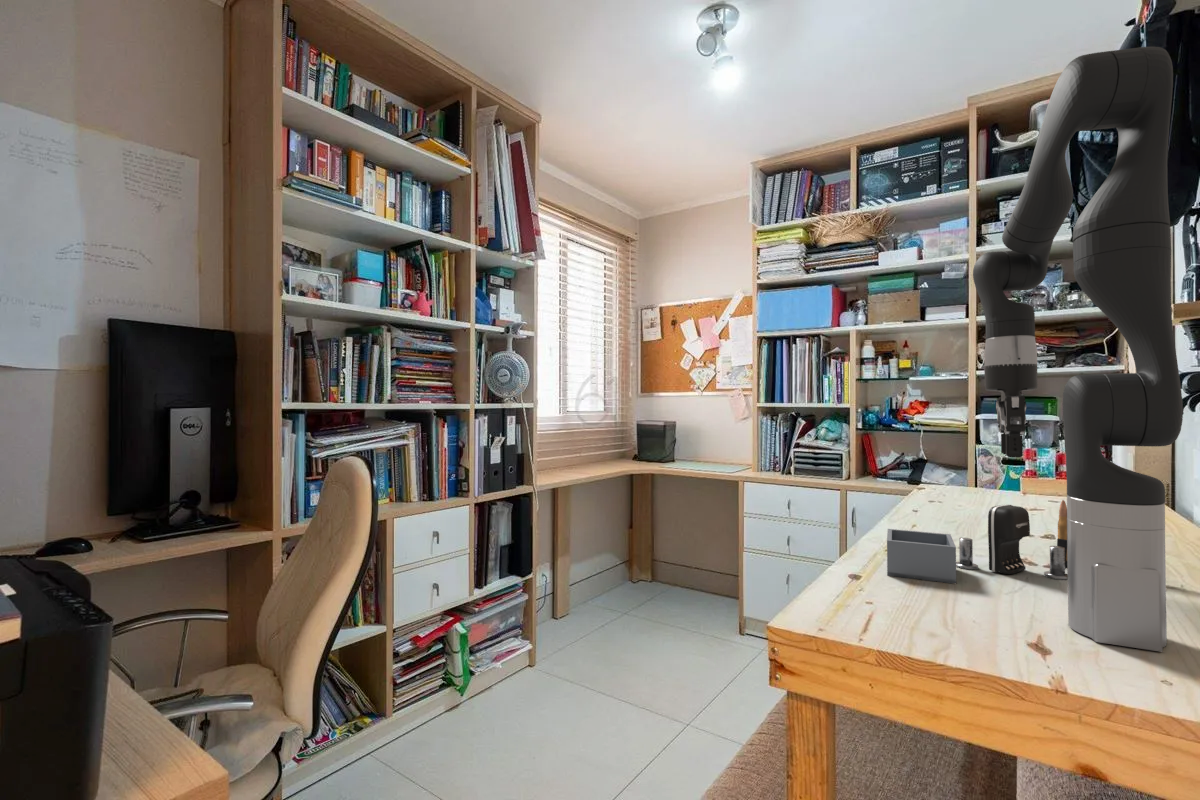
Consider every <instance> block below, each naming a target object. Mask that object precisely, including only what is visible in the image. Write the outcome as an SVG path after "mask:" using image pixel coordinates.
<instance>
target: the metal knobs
mask: <svg viewBox="0 0 1200 800" xmlns="http://www.w3.org/2000/svg"><path fill="white" fill-rule="evenodd" d="M958 541H959V545H958V546H959V547H958V552H959V555H958V556H959V561H956V566H957V567H956V568H958V567H960V568H959V569H962V568H965V569H964V570H969V569H976V570H978V569H979V565H978V564H976V563H974V561H973V560H974V557H973V556H974V555H973V554H974V553H973V549H974V548H973V547H974V546H973V543H974V542H973V539H972V538H969V537H959V539H958ZM1044 575H1045V577H1046V576H1047V578H1049V579H1054V580H1060V581H1068V573H1066V568H1065V548H1064V547H1060V546H1057V545H1050V546H1049V571H1048V570H1047V571H1044V572H1043V576H1044Z"/></svg>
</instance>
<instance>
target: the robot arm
mask: <svg viewBox="0 0 1200 800" xmlns="http://www.w3.org/2000/svg"><path fill="white" fill-rule="evenodd" d="M1173 88H1174V67H1173V62H1172V59H1171V56H1170V53H1169V52H1168V51H1167V50H1166V49H1165V48H1162V47H1160V46H1140V47H1134V48H1132V47H1131V48H1125V49H1116V50H1108V51H1107V50H1105V51H1098V52H1093V53H1088V54H1082V55H1079V56H1077V57H1075V58H1074V59H1072V60H1071V61H1070V62H1069V63H1068V64H1067V65H1066V66H1065V68H1064V69H1063V71H1061V73H1060V75H1059V77H1058V79H1057V81H1056V83H1055V85H1054V87H1053V90H1052V93H1050V94H1051V95H1050V97H1049V101H1048V102H1047V107H1046V110H1045V113H1044V116H1043V120H1042V124H1041V127H1040V129H1039V132H1038V137H1037V141H1036V144H1035V147H1034V150H1033V154H1032V157H1031V161H1030V165H1029V169H1028V172H1027V176H1026V179H1025V182H1024V186H1023V188H1022V190H1021V193H1020V196H1019V197H1018V201H1017V202H1016V204H1015V206H1014V208H1013V210H1012V212H1011V214H1010V216H1009V219H1008V221H1007V223H1006V225H1005V227H1004V230H1003V232H1002V237H1001V238H1002V239H1001V240H1002V243H1003V245H1004V246H1005V247H1006V248H1007V249H1009V250H1003V251H1002V250H999V251H989V252H986V253H983V254H982V255H980V256H979V257H978V259H977V260H976V261H975V263H974V266H973V271H972V278H973V279H972V280H973V284H974V287H975V289H976V291H977V295H978V297H979V300H980V302H981V306H982V311H983V313H984V317H985V320H984V321H985V344H984V353H983V354H984V356H983V357H984V358H983V359H984V363H983V364H984V365H983V366H984V389H985V391H987V392H999V393H1001V395H1000V397H998V400H997V401H996V405H995V408H996V412H997V413H996V414H997V416H996V420H997V427H998V431H999V434H1000V448H1001V449H1000V452H1001V454H1003V455H1006V457H1008V458H1022V457H1023V455H1024V453H1023V452H1024V451H1023V449H1024V446H1023V444H1024V443H1023V436H1024V433H1025V432H1026V429H1027V426H1026V421H1027V416H1026V412H1027V411H1026V410H1027V401H1026V397H1025V395H1022V394H1021V392H1023V391H1025V392H1026V391H1027V392H1029V391H1035V390H1037V389H1038V387H1039V386H1038V385H1039V384H1038V349H1037V343H1036V322H1035V321H1036V320H1035V319H1036V318H1035V317H1036V316H1035V315H1036V314H1035V309H1034V307H1033V306H1032V305H1030V304H1029V303H1025V302H1018V301H1013V300H1011V299H1009V298H1008V297H1007V295H1006V294H1005V293H1004V292H1021V291H1030V290H1032V289H1034V288H1037V287H1038V286H1040V285H1041V284H1042V282H1043V281H1044V280H1045V279H1046V276H1047V274H1048V268H1049V267H1048V266H1049V260H1050V259H1049V258H1050V254H1051V250H1052V246H1053V241H1054V240H1055V238H1056V236H1057V234H1058V232H1059V231H1060V229H1061V227H1062V225H1063V224H1064V222H1065V221H1066V218H1067V216H1068V215H1069V213H1070V210H1071V208H1072V204H1073V198H1074V188H1073V185H1072V180H1071V177H1070V175H1069V171H1068V167H1067V160H1066V152H1067V149H1068V146H1069V144H1070V142H1071V140H1072V138H1073V137H1074V135H1075V133H1077V132H1080V131H1081V132H1083V131H1094V130H1103V129H1104V130H1107V129H1116V131H1117V135H1118V136H1117V137H1118V147H1117V153H1116V157H1115V162H1114V164H1113V165H1112V168H1111V170H1110V171H1109V174H1108V175H1107V177H1106V178H1105V179H1104V181H1103V183H1102V184H1101V185H1100V187H1099V188H1098V189H1097V191H1096V192H1095V193H1094V195H1093V196H1092V197H1091V199H1090V200H1089V201H1088V203H1087V204H1086V206H1085V207H1084V209H1083V210H1082V211H1081V212H1080V215H1079V216H1078V218H1077V220H1076V222H1075V225H1074V227H1073V229H1072V230H1073V231H1072V254H1073V255H1072V257H1073V258H1072V259H1073V260H1072V261H1073V276H1074V279H1075V281H1076V283H1077V285H1078V286H1079V288H1080V289H1081V290H1082V292H1083V293H1084V294H1085V295H1086V297H1088V298H1089V300H1090V301H1091V302H1092V303H1093V304H1094V305H1095V307H1097V308H1098V309H1099V310H1100V311H1101V312H1102V313H1103V314H1104V315H1105V316H1106V317H1107V318H1108V320H1110V322H1111V323H1112V324H1113V325H1114V326H1115V327H1116V328H1117V330H1118V331H1119V332H1120V334H1121V335H1122V337H1123V339H1124V340H1125V341H1126V343H1127V346H1128V347H1129V350H1130V353H1131V355H1132V358H1133V361H1134V365H1135V371H1136V372H1130V373H1129V372H1126V373H1124V372H1123V373H1122V372H1121V373H1119V372H1118V373H1091V374H1078V375H1073V376H1072V377H1070V378H1069V379H1068V380H1067V381H1066V384H1065V386H1064V388H1063V392H1062V401H1061V402H1062V405H1061V406H1062V421H1063V431H1064V432H1063V433H1064V442H1065V444H1064V446H1065V466H1066V467H1065V468H1066V469H1065V470H1066V506H1067V570H1066V571H1067V572H1066V574H1068V580H1067V610H1068V611H1067V612H1068V613H1067V616H1068V620H1067V622H1068V624H1067V625H1068V626H1069V628H1071V629H1072V630H1073V631H1075V632H1077V633H1079V634H1081V635H1083V636H1086V637H1089V638H1090V639H1092V640H1093V641H1094V642H1096V643H1101V644H1108V645H1115V646H1120V647H1121V646H1122V647H1127V648H1136V649H1139V650H1140V649H1142V650H1147V651H1154V652H1163V649H1164V647H1166V646H1167V644H1168V643H1167V641H1168V639H1167V635H1168V634H1167V633H1168V632H1167V629H1168V628H1167V627H1168V626H1167V623H1168V622H1167V582H1166V581H1167V575H1166V574H1167V573H1166V569H1167V568H1166V489H1165V488H1166V487H1165V485H1164V483H1163V481H1161V480H1160V479H1158V478H1157V477H1153V476H1151V475H1147V474H1144V473H1140V472H1137V471H1134V470H1131V469H1127V468H1125V467H1122V466H1120V465H1118V464H1116V463H1115V462H1112V461H1111V460H1109V459H1107V457H1105V456H1104V455H1103V451H1102V447H1101V446H1112V447H1113V446H1117V447H1119V446H1120V447H1122V446H1123V447H1167V446H1170V445H1172V444H1173V443H1175V442H1176V440H1178V438H1179V436H1180V434H1181V430H1182V425H1183V418H1184V417H1183V416H1184V412H1183V411H1184V408H1183V396H1182V395H1183V394H1182V386H1181V385H1182V384H1181V378H1180V373H1179V372H1180V371H1179V364H1178V357H1177V351H1176V350H1177V349H1176V343H1175V336H1174V335H1175V334H1174V327H1173V316H1172V313H1173V311H1172V281H1171V280H1172V237H1171V236H1172V235H1171V232H1172V231H1171V217H1170V206H1169V191H1168V190H1169V189H1168V181H1169V180H1168V153H1169V152H1168V149H1169V135H1170V124H1171V112H1172V102H1173V90H1174V89H1173Z"/></svg>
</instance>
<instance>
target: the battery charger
mask: <svg viewBox="0 0 1200 800" xmlns="http://www.w3.org/2000/svg"><path fill="white" fill-rule="evenodd" d="M987 525H988V526H987V530H988V531H987V536H988V537H987V538H988V570H989V571H991V572H993V573H999V574H1004V575H1012V574H1013V575H1014V574H1017V573H1020V572H1021V573H1022V572H1024V571H1025V570H1026V569H1027V568H1026V565H1025V564H1024V562H1023V560H1022V557H1021V555H1020V554H1021V553H1020V541H1021V540H1023V538H1027V537H1030V535H1031V527H1030V525H1031V524H1030V515H1029V512H1028V510H1027V509H1026V508H1024V507H1022V506H1016V505H1012V504H999V505H995V506H992V507H990V509H989V510H988V515H987Z"/></svg>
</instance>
